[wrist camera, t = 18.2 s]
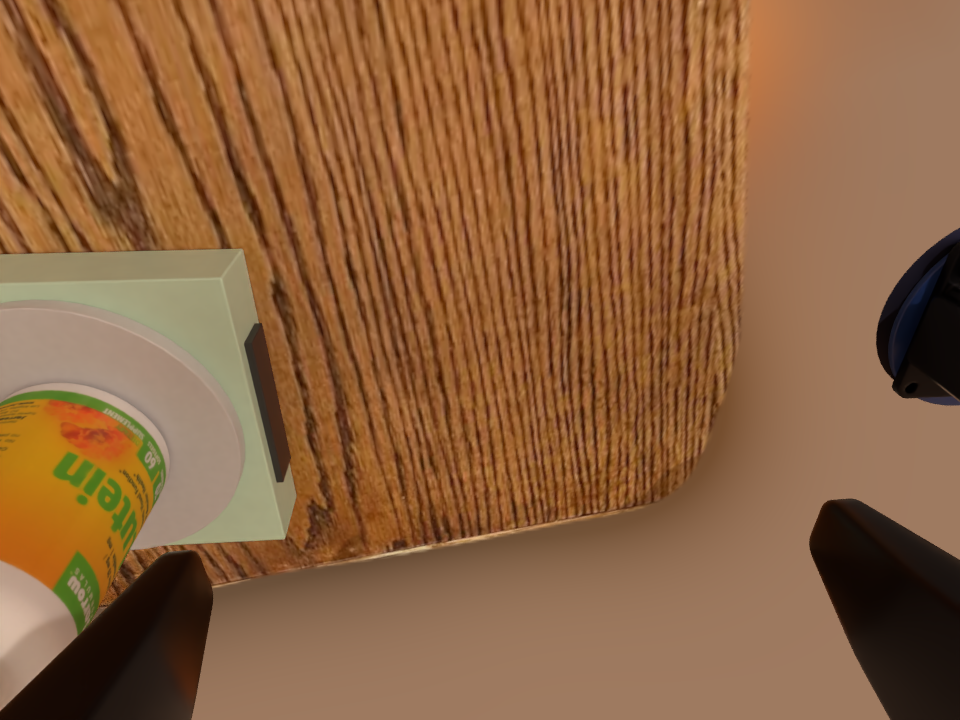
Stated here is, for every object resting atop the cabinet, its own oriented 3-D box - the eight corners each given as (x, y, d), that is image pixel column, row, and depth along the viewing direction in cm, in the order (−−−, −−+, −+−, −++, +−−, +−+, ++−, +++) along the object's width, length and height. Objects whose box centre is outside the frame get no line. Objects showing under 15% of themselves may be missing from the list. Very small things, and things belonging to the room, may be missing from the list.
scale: (251, 247, 20) (224, 286, 17) (303, 495, 25) (288, 551, 23) (-113, 256, 19) (-198, 297, 16) (25, 508, 25) (-22, 568, 22)
